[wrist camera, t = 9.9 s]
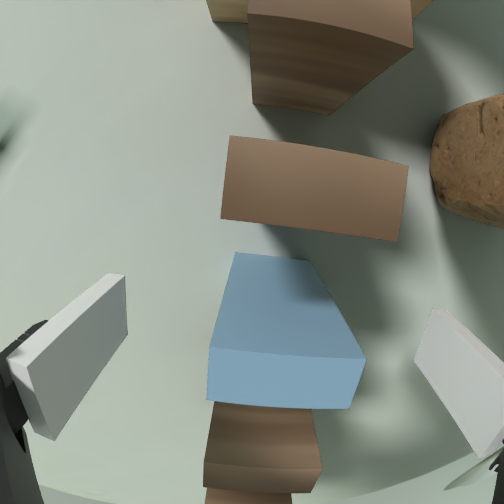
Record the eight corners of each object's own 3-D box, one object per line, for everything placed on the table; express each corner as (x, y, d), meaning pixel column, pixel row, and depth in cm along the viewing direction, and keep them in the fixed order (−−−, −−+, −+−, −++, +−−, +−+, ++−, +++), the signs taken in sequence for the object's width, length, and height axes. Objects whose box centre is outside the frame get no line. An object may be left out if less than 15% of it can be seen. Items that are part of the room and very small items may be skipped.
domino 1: (256, 73, 18) (255, -37, 6) (331, 84, 18) (409, -3, 6) (252, 103, 18) (247, 13, 7) (329, 114, 18) (413, 48, 7)
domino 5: (221, 393, 24) (202, 517, 12) (282, 399, 24) (293, 523, 12) (219, 412, 24) (202, 530, 12) (277, 417, 24) (285, 535, 12)
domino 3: (235, 252, 21) (209, 346, 9) (309, 260, 21) (366, 359, 9) (232, 283, 21) (206, 399, 10) (304, 291, 21) (348, 408, 10)
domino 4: (227, 331, 22) (203, 461, 10) (295, 338, 22) (322, 468, 11) (224, 356, 23) (203, 487, 11) (290, 362, 23) (310, 492, 11)
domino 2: (245, 160, 19) (229, 135, 8) (322, 170, 19) (408, 166, 8) (241, 194, 20) (220, 218, 8) (318, 203, 20) (397, 241, 8)
